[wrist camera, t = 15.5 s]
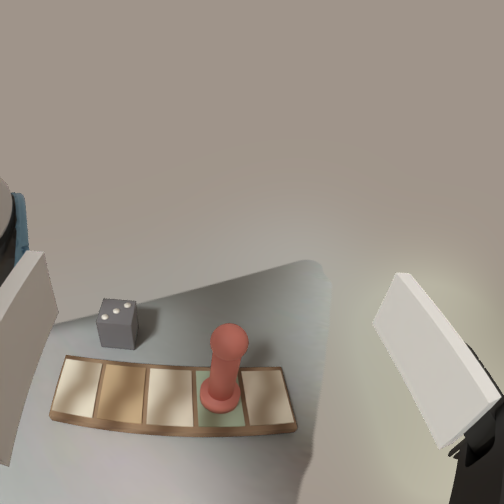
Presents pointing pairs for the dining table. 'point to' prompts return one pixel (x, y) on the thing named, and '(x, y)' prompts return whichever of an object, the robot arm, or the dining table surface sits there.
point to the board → (167, 400)
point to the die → (117, 324)
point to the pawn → (224, 369)
